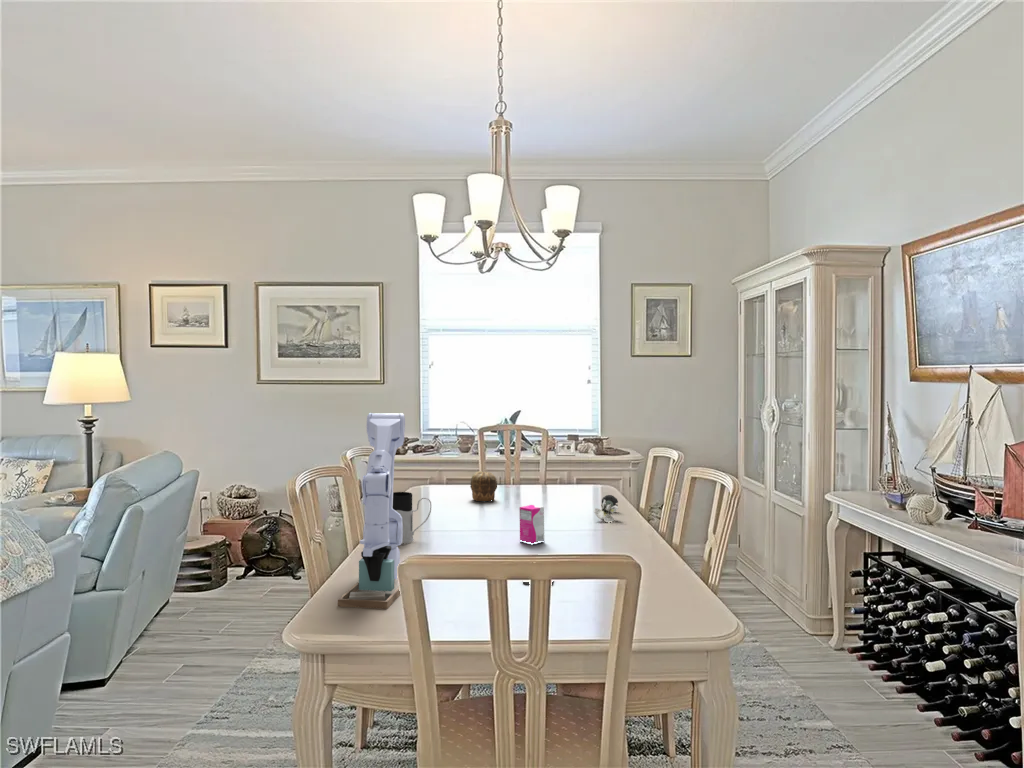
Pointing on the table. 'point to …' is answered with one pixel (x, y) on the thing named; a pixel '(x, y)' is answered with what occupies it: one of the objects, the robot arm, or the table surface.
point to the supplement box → (532, 523)
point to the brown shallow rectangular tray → (347, 602)
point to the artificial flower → (607, 508)
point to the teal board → (385, 577)
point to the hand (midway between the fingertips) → (376, 578)
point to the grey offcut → (368, 595)
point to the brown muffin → (483, 486)
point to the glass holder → (406, 513)
